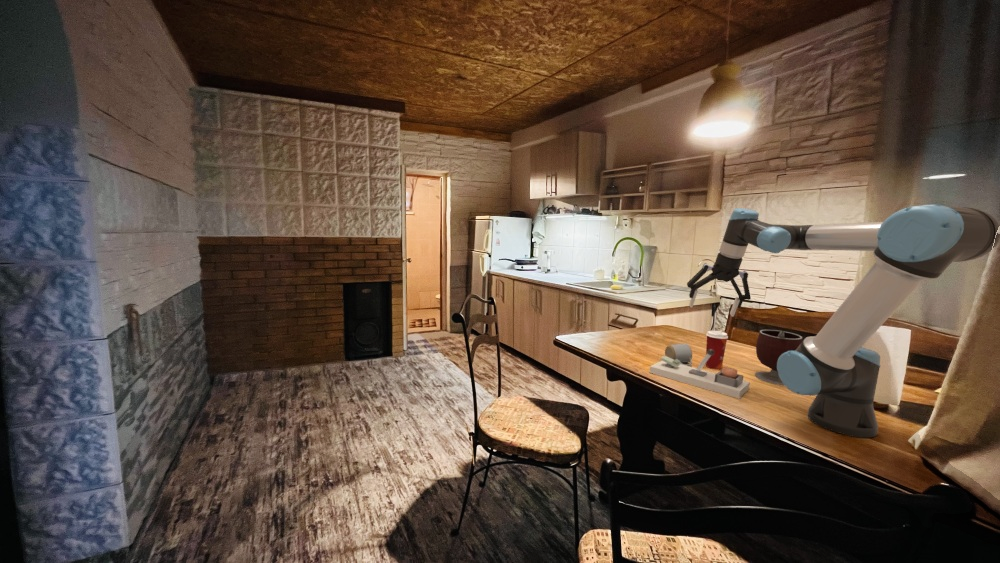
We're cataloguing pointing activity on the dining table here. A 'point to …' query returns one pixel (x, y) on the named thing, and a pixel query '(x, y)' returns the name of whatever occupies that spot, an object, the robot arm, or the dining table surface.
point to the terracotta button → (729, 372)
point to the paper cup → (716, 348)
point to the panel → (702, 379)
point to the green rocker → (671, 361)
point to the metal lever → (705, 359)
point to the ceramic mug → (679, 353)
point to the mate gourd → (774, 351)
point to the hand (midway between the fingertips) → (710, 310)
